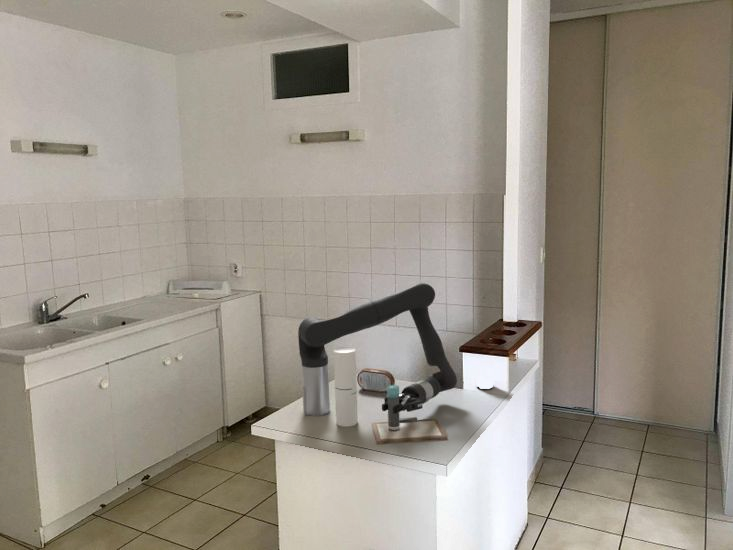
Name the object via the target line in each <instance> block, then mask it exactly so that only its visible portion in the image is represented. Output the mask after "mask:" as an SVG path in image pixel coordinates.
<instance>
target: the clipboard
mask: <svg viewBox="0 0 733 550" xmlns="http://www.w3.org/2000/svg"><path fill="white" fill-rule="evenodd" d="M399 423H400V430H399V431H389V430H388V421H379V422H377V421H376V422H371V427H372V430H373V431H372V432H373V436H374V440H375V443H376V444H377V445H378V444H393V443H407V442H409V443H410V442H423V441H426V440H427V441H439V440H438V439H443V440H448V436H447V434H446V432H445V430H444V429H443V427H442V425H441V422H440V421H439V419H438V418H429V419H418V417H416V416H414V417H413V416H412V417H399Z"/></svg>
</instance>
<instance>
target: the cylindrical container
mask: <svg viewBox="0 0 733 550" xmlns="http://www.w3.org/2000/svg"><path fill="white" fill-rule="evenodd" d="M356 354H357V353H356V348H354V347H345V346H344V347H338V348H334V349H333V368H334V371H333V372H334V389H335V390H334V391H335V392H334V393H335V397H334V398H335V420H336V423H335V424H336V425H338V426H340V427H344V428H345V427H348V428H349V427H353V426H355V425H357V424H358V420H359V419H358V418H359V417H358V392H357V391H358V390H357V387H358V386H357V364H356V363H357V356H356Z"/></svg>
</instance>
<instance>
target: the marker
mask: <svg viewBox="0 0 733 550" xmlns="http://www.w3.org/2000/svg"><path fill="white" fill-rule="evenodd" d="M399 394H400V386H399V385H396V384H395V385H390V386H387V392H386V396H387V397H388V410H387V422H388V430H389V431H399V430H400V423H399V418H400V412H399V413H396V414H393V407H394V406H396V405H398V404H399Z"/></svg>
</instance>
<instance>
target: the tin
mask: <svg viewBox="0 0 733 550" xmlns="http://www.w3.org/2000/svg"><path fill="white" fill-rule="evenodd" d="M356 382H357V384H358V386H359V387H360V388H361V389H362V390H365V391H368V390H371V391H370V392H376V391H381V392H380V393H383V392H385V393H387V386H390V385H396V380H395V377H394V375H393V374H392V373H391V372H390V371H388V370H383V369H376V368H368V367H367V368H363V369H362V370H361V371H360V372H359V373H358V374H357V375H356Z"/></svg>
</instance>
